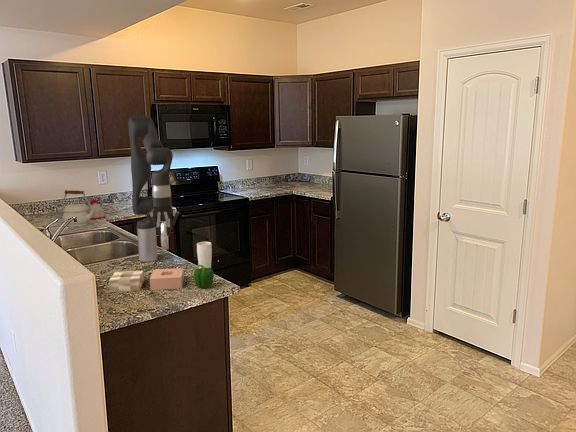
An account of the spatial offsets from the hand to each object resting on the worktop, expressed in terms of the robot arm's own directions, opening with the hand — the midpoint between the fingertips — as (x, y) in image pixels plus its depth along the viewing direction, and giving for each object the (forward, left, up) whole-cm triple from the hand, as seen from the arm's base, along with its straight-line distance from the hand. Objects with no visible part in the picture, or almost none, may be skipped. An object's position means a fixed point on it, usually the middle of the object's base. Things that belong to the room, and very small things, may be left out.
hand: (164, 235), depth 191 cm
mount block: (0, -17, -22) cm, 28 cm away
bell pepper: (+6, +16, -22) cm, 28 cm away
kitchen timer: (-165, -71, -22) cm, 181 cm away
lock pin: (0, 0, -6) cm, 6 cm away
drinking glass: (-11, +16, -22) cm, 30 cm away
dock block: (0, 0, -22) cm, 22 cm away
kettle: (-141, -76, -22) cm, 162 cm away
